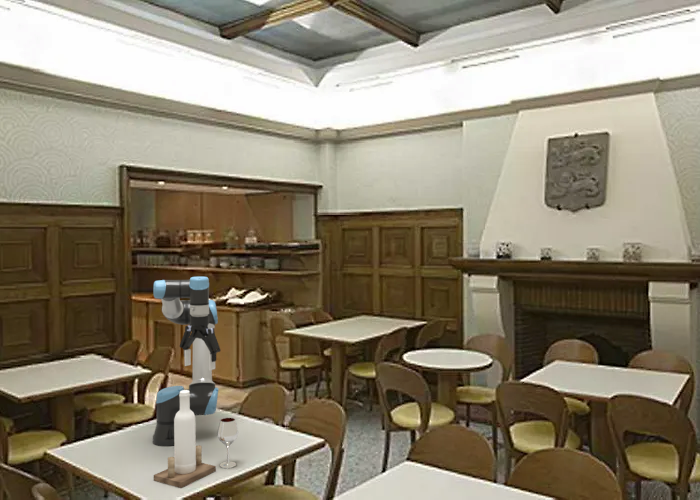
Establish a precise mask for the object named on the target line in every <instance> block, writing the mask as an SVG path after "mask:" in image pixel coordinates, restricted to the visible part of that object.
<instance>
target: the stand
mask: <svg viewBox="0 0 700 500" xmlns="http://www.w3.org/2000/svg"><path fill="white" fill-rule="evenodd" d="M202 448H203V447H202V445H200V444H198V445H196V470H195V471H194V472H192V473H188V474H178V473H176V472H175V456H168V458H167V469H164V470H162V471H159V472H157V473H155V474H153V481H154V482H157V483H162V484H164V485H168V486H172V487H175V488H180V489H182V488H183V489H184V488H185V487H186V486H189V485H190V484H192V483H194V482H197V481H199V480H201V479H203V478H205V477H208V476H209V475H210V474H213V473H215V472H216V471H217V468H216V467H217V466H216V465H213V464H209V463H205V462H203V461H202V460H203V459H202V458H203V456H202V455H203V453H202V452H203V450H202Z"/></svg>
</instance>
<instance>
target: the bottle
mask: <svg viewBox="0 0 700 500" xmlns="http://www.w3.org/2000/svg"><path fill="white" fill-rule="evenodd" d="M179 397H180V410H179V411H178V412H177V413H176V415H175V419H174V445H173V446H174V447H173V448H174V450H173V451H174V457H175V472H176V473H178V474H188V473H192V472H194V471H195V470H196V446H197V445H196V440H197V439H196V438H197V437H196V416H195V415H194V412H193V411H191V410H190V391H188V390H186V389H184V390H182V391H180V394H179Z"/></svg>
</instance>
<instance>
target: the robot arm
mask: <svg viewBox="0 0 700 500" xmlns="http://www.w3.org/2000/svg"><path fill="white" fill-rule="evenodd" d="M209 281H210V280H209V278H208V277H207V276H192V277H190V279H162V280H160V279H159V280H155V281H154V282H153V297H154V299H159V300H161V303H162V306H161V312H162V314H163V316H164V318H166V319H167V320H168V321H170V322H172V323H173V324H177V325H181V326H182V325H186V326H185V327H184V332H183V336H182V339H181V341H180V343H179V348H180V349H181V348H182V351H183V358H184V367H187V366H191V365H192V381H191V382H190V383H189V385H188V389H185V388H184V386H182V385H173V386H172V385H171V386H168V387H165V388H162V389H160V390H159V391H158V392H157V394H156V401H155V403H156V425H155V429H154V431H153V435H152V444H153V445H155V446H161V447H168V446H169V447H171V446H174V419H175V415H176V413H177V412H178V411H179V410H180V397H179V394H180V391H182V390H188V391H190V410H191V411H193V412H194V415H195V417H196V416H208V415H209V416H210V415H213V414H215V413H216V412H217V407H218V398H219V397H218V396H219V388H218V387H217V386H216V383H215V382H214V381H213V375H212V374H213V372H212V371H213V370H216V362H217V353H220V352H221V348H220V345H219V343H218V339H217V335H216V332H215V328H216V327H215V326H216V325H218V323H219V322H218V320H219V318H218V310H217V304H216V301H214V300H213V299H210V282H209ZM180 299H182V300H180ZM184 299H185V300H184ZM191 346H192V349H191ZM191 354H192V355H191ZM191 358H192V361H191Z"/></svg>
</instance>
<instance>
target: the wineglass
mask: <svg viewBox="0 0 700 500" xmlns="http://www.w3.org/2000/svg"><path fill="white" fill-rule="evenodd" d="M216 434H217V435H216V436H217V439H218V440H219V442H220V443H222V444H223V445H224V446H225V447H226V461H225V462H222V463H220V464H219V467H220V468H222V469H232V468H234V467H236V465H237V463H236V462H234V461H230V447H231V445H233V443H234V442H235V441H236V440H237V439H238V437H239V428H238V425H237V422H236V419H235V418H233V417H225V418H221V419H219V424H218V428H217V433H216Z"/></svg>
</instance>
